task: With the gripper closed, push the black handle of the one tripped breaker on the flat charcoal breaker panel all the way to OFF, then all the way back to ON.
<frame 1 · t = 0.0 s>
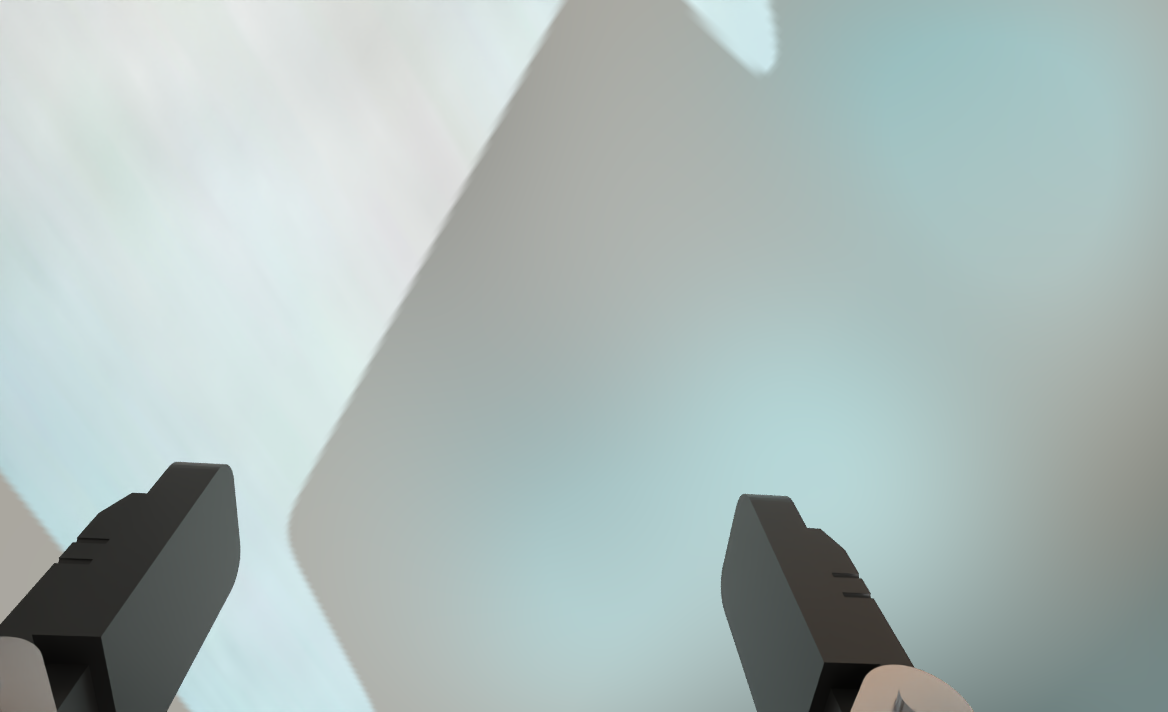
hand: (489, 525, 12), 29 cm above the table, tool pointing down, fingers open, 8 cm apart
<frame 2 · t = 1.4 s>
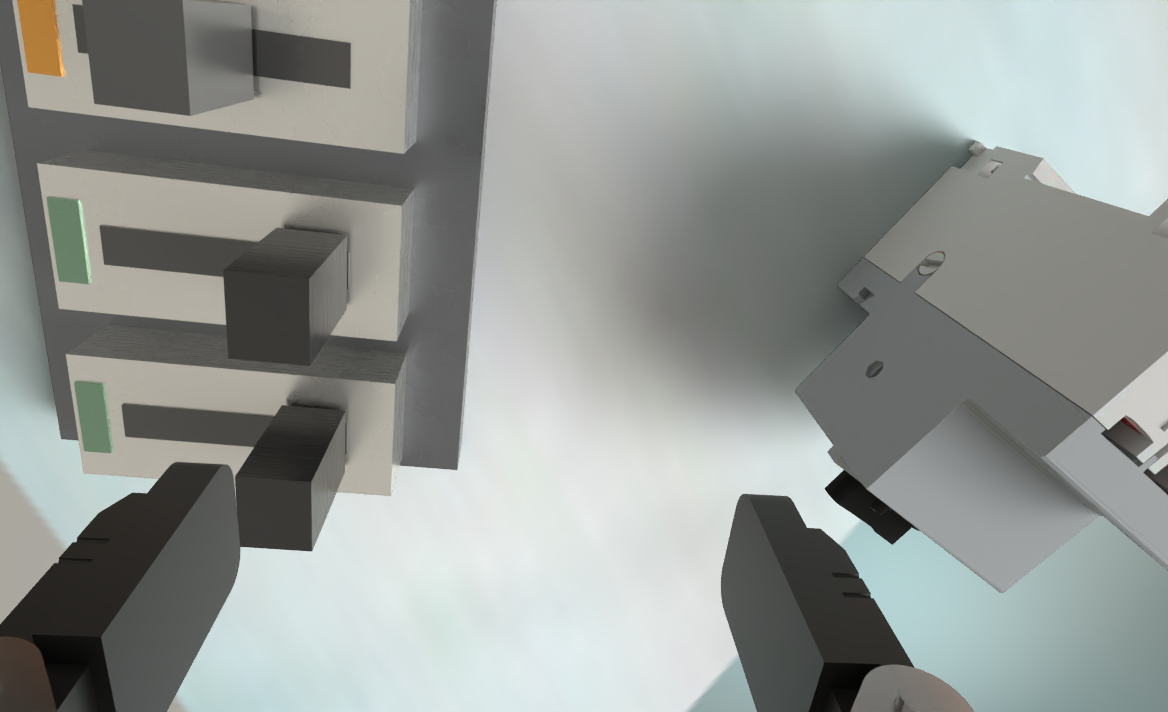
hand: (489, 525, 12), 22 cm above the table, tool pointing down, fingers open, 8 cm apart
circuit breaker: (904, 314, 35), on the table
breaker panel: (272, 224, 31), on the table
tripped breaker handle: (179, 50, 21), point 8 cm above the table, slide at 3.0 cm
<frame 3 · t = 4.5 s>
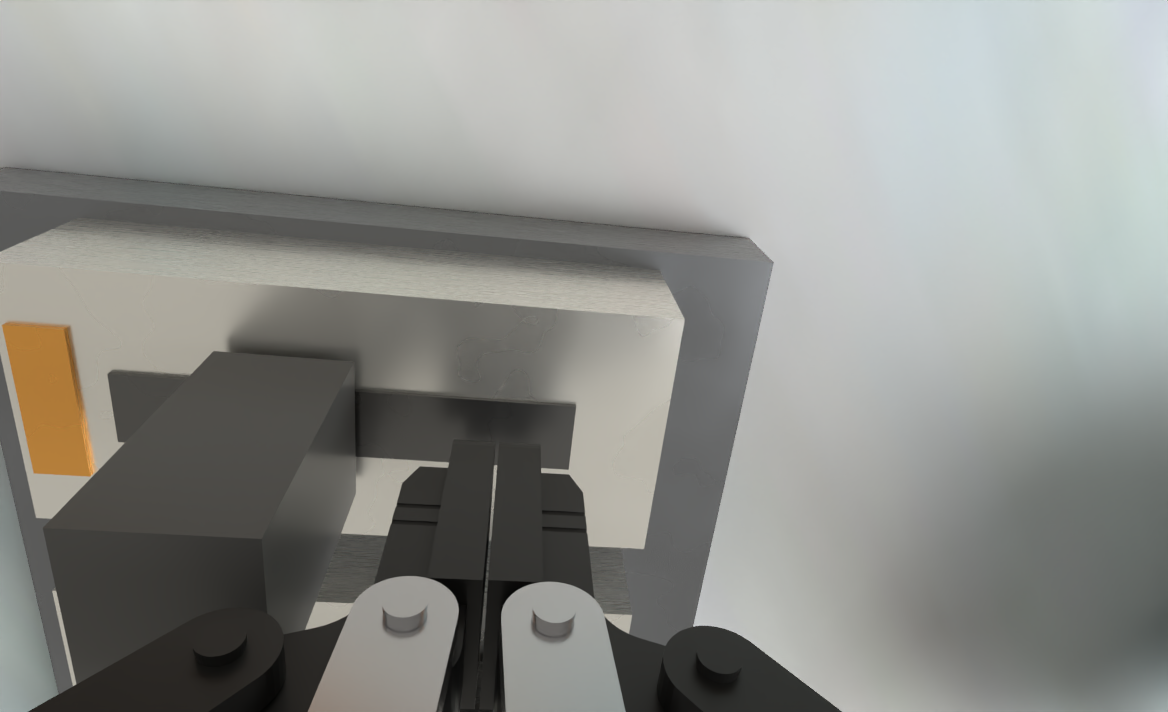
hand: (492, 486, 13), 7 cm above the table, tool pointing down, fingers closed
breaker panel: (392, 550, 21), on the table
tripped breaker handle: (239, 506, 11), point 8 cm above the table, slide at 1.9 cm, touching gripper
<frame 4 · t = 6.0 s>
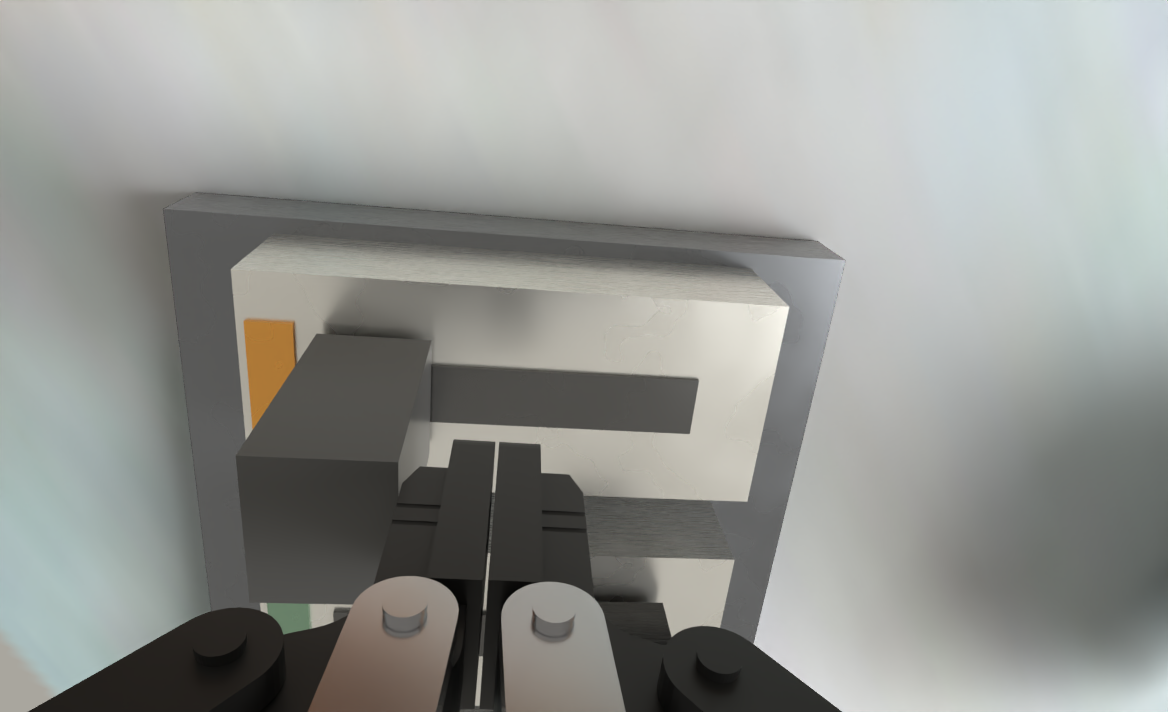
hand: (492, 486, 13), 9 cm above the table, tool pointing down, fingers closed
breaker panel: (501, 521, 24), on the table
tripped breaker handle: (352, 454, 14), point 8 cm above the table, slide at -0.1 cm
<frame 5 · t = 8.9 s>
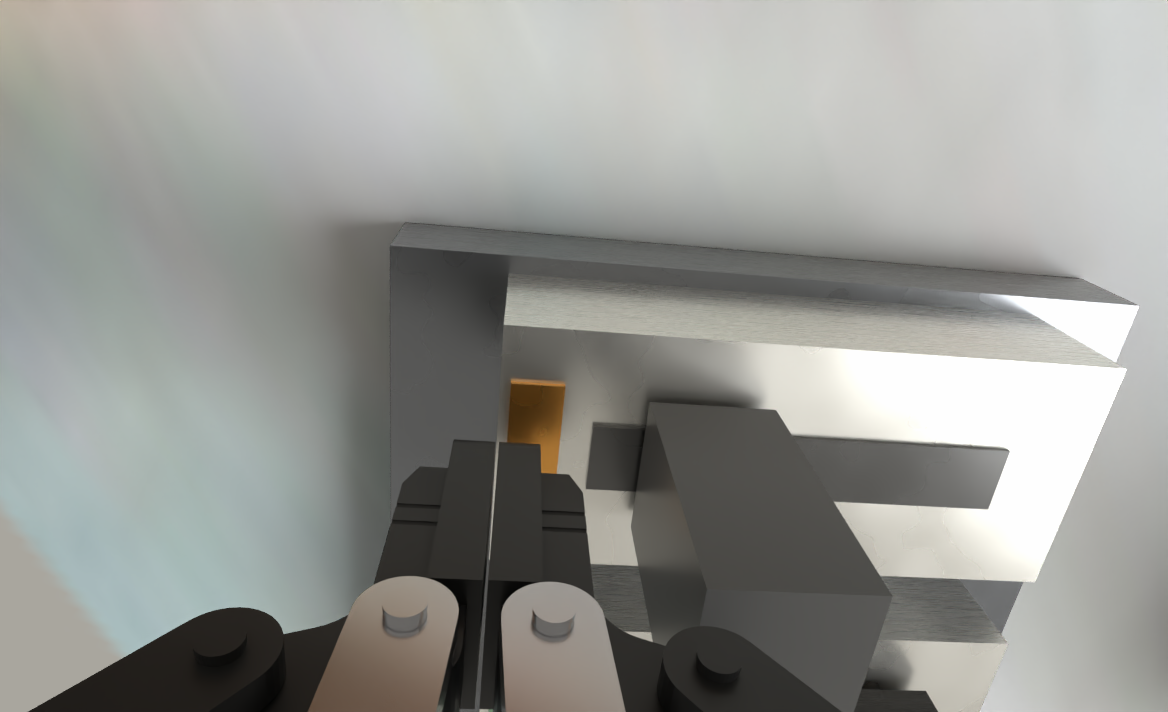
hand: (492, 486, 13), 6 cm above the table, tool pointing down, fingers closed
breaker panel: (693, 577, 22), on the table
tripped breaker handle: (732, 553, 12), point 8 cm above the table, slide at 1.0 cm, touching gripper
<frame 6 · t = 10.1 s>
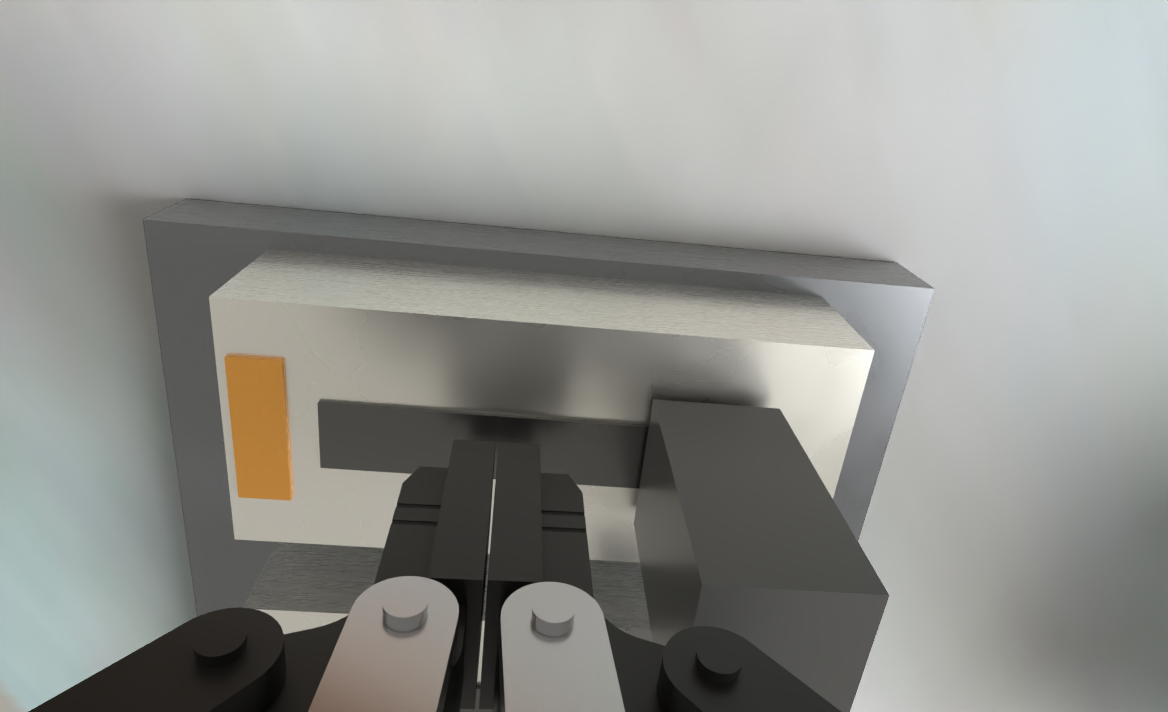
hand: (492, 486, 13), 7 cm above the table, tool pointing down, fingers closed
breaker panel: (525, 566, 22), on the table
tripped breaker handle: (732, 551, 12), point 8 cm above the table, slide at 6.2 cm, touching gripper
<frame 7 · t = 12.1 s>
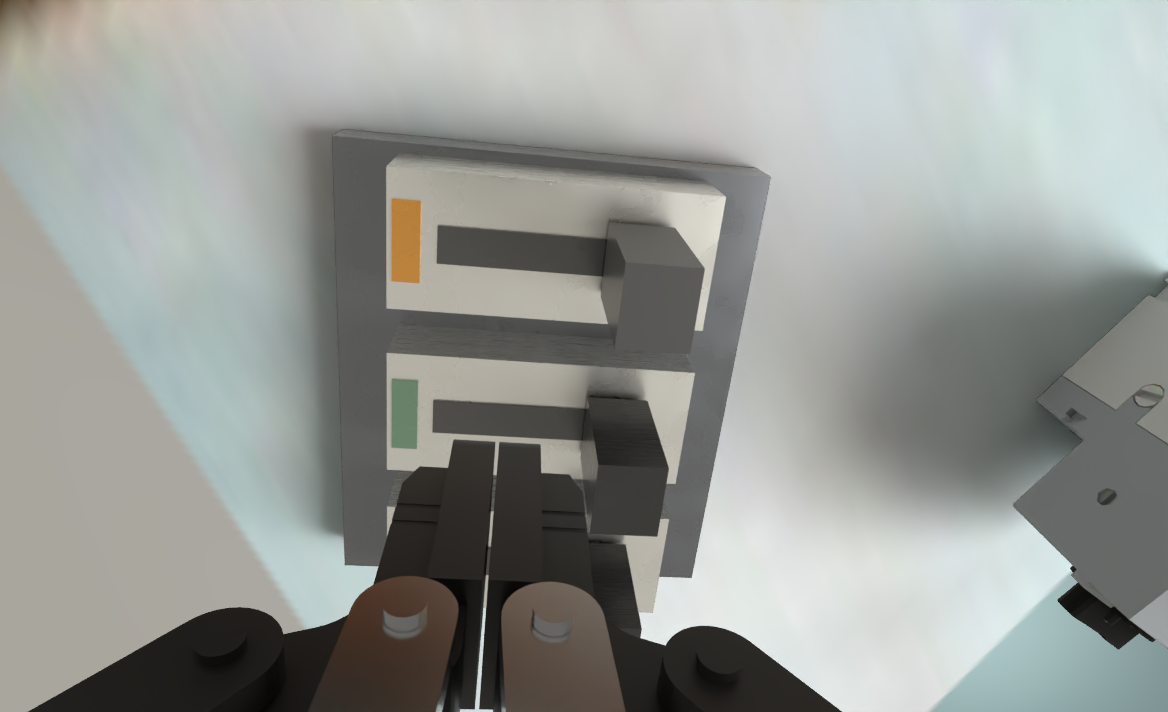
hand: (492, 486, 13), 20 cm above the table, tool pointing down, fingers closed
circuit breaker: (1093, 421, 38), on the table
breaker panel: (537, 370, 35), on the table
tripped breaker handle: (647, 283, 25), point 8 cm above the table, slide at 6.1 cm
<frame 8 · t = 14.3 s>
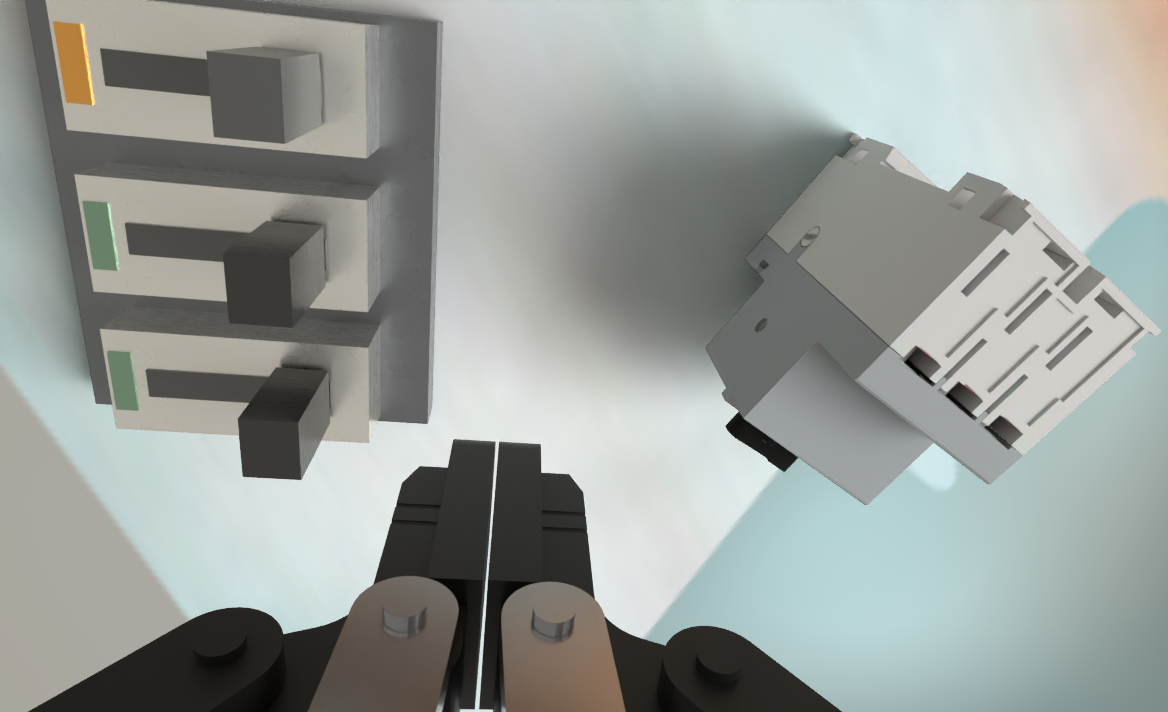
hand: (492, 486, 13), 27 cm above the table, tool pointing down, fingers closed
circuit breaker: (806, 282, 41), on the table
breaker panel: (265, 219, 38), on the table
tripped breaker handle: (269, 92, 28), point 8 cm above the table, slide at 6.1 cm
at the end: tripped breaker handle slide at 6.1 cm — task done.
